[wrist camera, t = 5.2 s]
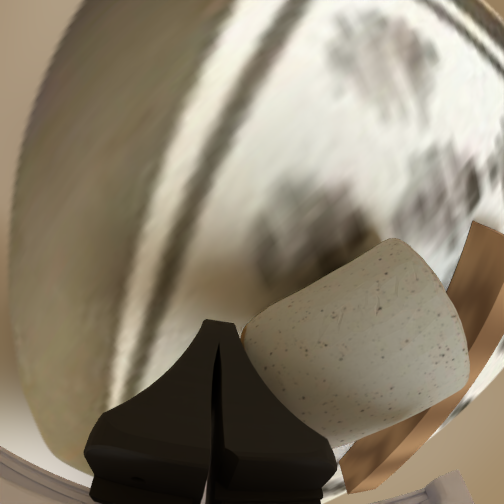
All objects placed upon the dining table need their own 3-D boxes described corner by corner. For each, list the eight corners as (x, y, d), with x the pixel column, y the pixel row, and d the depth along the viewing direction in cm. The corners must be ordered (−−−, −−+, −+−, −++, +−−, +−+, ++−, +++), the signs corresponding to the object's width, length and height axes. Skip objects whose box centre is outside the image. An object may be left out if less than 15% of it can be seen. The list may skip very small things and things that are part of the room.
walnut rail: (365, 458, 22) (375, 489, 19) (338, 461, 22) (347, 494, 18) (497, 231, 14) (538, 253, 10) (472, 220, 14) (518, 243, 10)
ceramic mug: (226, 297, 15) (222, 429, 7) (371, 213, 13) (477, 291, 6) (313, 403, 18) (338, 498, 11) (418, 346, 17) (472, 428, 10)
